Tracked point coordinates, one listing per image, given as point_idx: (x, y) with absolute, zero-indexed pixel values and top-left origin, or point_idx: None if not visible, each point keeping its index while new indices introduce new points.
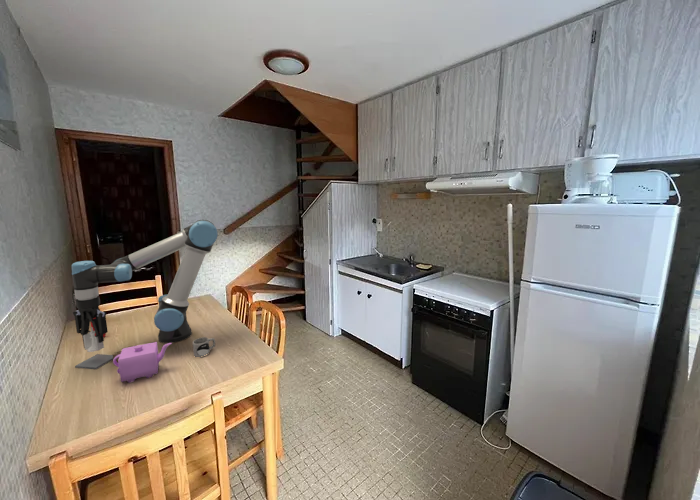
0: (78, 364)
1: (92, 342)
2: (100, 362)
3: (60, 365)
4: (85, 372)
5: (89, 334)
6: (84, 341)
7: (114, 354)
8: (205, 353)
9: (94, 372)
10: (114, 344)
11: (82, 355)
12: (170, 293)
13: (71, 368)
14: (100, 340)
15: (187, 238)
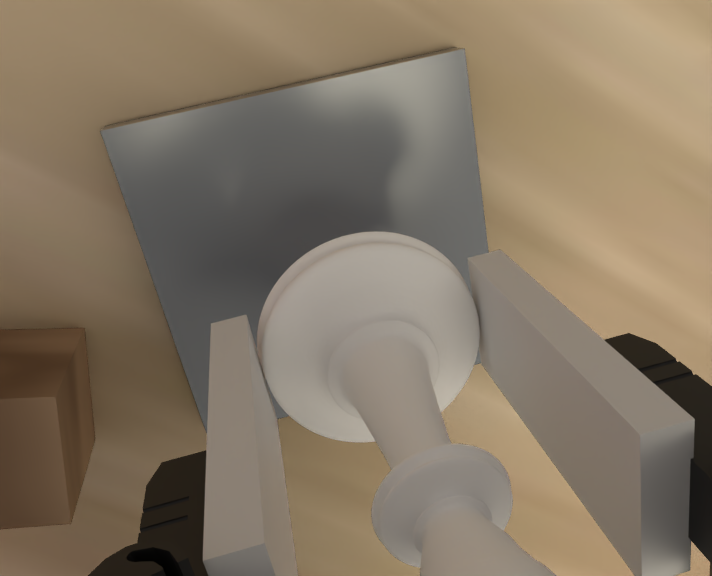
0: (458, 94)
1: (394, 395)
2: (212, 246)
3: (709, 15)
4: (159, 9)
5: (621, 531)
6: (569, 331)
7: (24, 408)
8: None
9: (23, 58)
10: (561, 548)
11: (675, 276)
12: None
13: (485, 14)
14: (151, 507)
15: None
